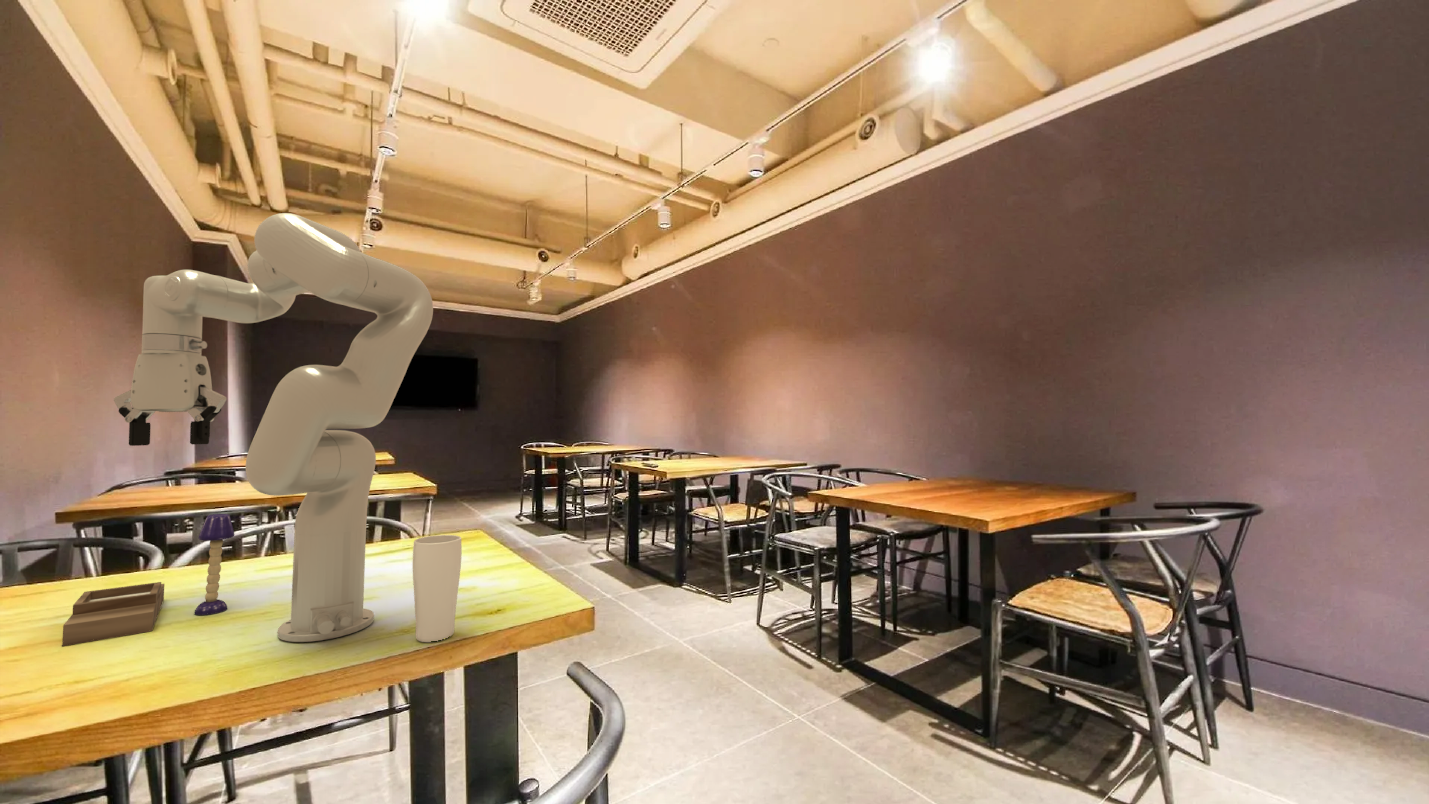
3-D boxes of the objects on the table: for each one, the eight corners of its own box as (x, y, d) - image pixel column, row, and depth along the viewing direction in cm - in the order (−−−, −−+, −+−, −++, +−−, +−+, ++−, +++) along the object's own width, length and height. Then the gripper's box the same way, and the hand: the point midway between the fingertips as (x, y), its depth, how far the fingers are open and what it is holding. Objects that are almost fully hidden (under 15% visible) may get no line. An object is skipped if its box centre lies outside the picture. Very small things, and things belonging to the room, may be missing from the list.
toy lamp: (235, 605, 98) (239, 512, 99) (224, 614, 94) (229, 516, 95) (200, 609, 96) (205, 513, 97) (188, 617, 92) (193, 517, 93)
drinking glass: (467, 629, 88) (470, 535, 88) (442, 646, 81) (445, 544, 82) (428, 628, 88) (430, 534, 89) (399, 644, 82) (403, 542, 82)
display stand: (152, 631, 86) (153, 601, 86) (61, 646, 80) (63, 614, 80) (163, 600, 101) (164, 575, 101) (88, 610, 95) (90, 584, 95)
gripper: (241, 350, 101) (239, 443, 101) (139, 351, 100) (136, 445, 99) (207, 344, 94) (205, 444, 93) (96, 344, 92) (93, 446, 91)
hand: (169, 444), depth 96 cm, fingers open, 9 cm apart
